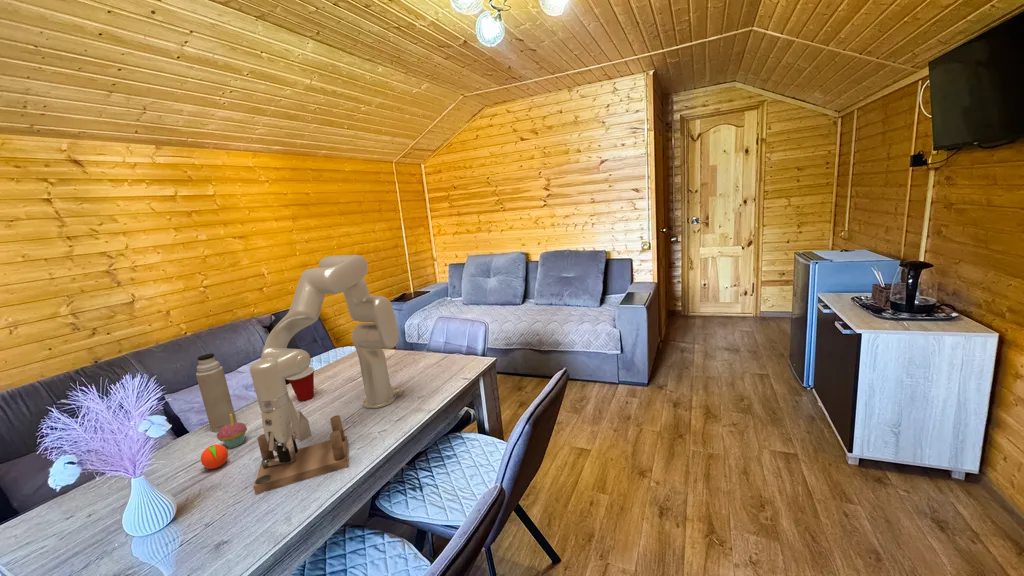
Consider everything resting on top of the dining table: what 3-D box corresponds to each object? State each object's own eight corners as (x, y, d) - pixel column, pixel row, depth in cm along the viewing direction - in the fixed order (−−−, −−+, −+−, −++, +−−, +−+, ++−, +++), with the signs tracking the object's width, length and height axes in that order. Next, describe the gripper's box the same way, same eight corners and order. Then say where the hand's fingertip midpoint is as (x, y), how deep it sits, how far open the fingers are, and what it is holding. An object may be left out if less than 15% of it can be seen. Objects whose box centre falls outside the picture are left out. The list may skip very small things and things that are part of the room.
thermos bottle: (206, 433, 150) (186, 361, 144) (219, 422, 158) (200, 352, 152) (229, 430, 151) (209, 358, 145) (241, 419, 158) (223, 350, 153)
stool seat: (348, 442, 135) (342, 413, 133) (348, 466, 122) (341, 434, 120) (264, 466, 127) (256, 435, 124) (255, 494, 114) (246, 460, 112)
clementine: (233, 466, 128) (227, 445, 127) (206, 478, 123) (200, 456, 122) (228, 456, 134) (222, 436, 132) (201, 467, 129) (196, 447, 128)
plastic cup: (285, 403, 168) (278, 376, 166) (306, 391, 178) (301, 365, 175) (304, 406, 164) (298, 378, 161) (325, 393, 174) (320, 367, 171)
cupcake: (255, 438, 144) (247, 406, 141) (232, 452, 136) (223, 419, 133) (237, 435, 146) (229, 404, 144) (214, 449, 139) (204, 417, 136)
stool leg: (261, 469, 120) (254, 441, 118) (264, 463, 123) (257, 435, 121) (295, 462, 122) (288, 434, 120) (297, 456, 125) (291, 429, 123)
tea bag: (301, 431, 145) (295, 404, 143) (311, 435, 142) (305, 408, 139) (290, 436, 142) (284, 409, 140) (301, 441, 139) (295, 414, 136)
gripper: (271, 414, 110) (287, 474, 115) (301, 386, 126) (314, 439, 131) (243, 417, 110) (260, 477, 115) (276, 388, 126) (290, 442, 131)
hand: (289, 456), depth 123 cm, fingers open, 3 cm apart
